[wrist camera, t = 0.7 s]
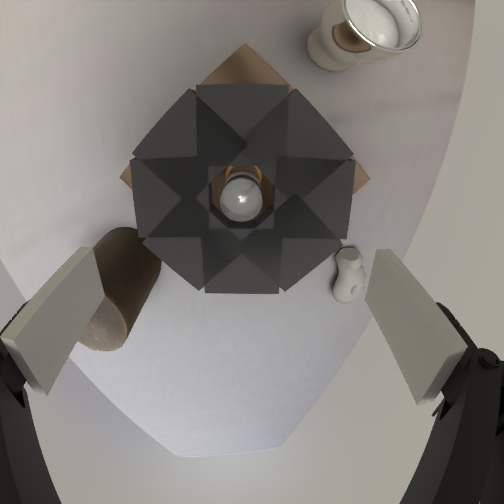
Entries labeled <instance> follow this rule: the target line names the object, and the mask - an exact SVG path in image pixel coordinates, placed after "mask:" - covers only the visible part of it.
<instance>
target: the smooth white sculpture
mask: <svg viewBox="0 0 504 504" xmlns="http://www.w3.org/2000/svg"><path fill="white" fill-rule="evenodd" d="M336 262H337V264H338V268H339V274H338V277H337V280H336V282H335V284H334V287H333V291H332V293H333V297H334V299H335V300H336V301H337V302H339V303H350V302H353V301H354V300H356V299H357V298H358V297H359V296H360V295H361V294H362V293H363V291H364V280H365V278H366V274H365V273H364V268H363V266H362V262H363V257H362V255H361V253H360V252H359V250H357V249H355V248H343V249H341V250H340V251H339V252H338V254H337V255H336Z"/></svg>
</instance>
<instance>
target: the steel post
mask: <svg viewBox="0 0 504 504" xmlns="http://www.w3.org/2000/svg"><path fill="white" fill-rule="evenodd" d="M225 178H226V182H225V185H224V188H223V191H222V194H221V197H220V206H221V209H222V211H223V212H224V214H225V215H226V216H227V217H228V218H230V219H232V220H234V221H239V222H244V221H248V220H251V219H253V218H254V217H255V216H257V214H258V213H259V212H260V210H261V208H262V194H261V186H260V183H261V180H262V173H261V171H260V170H259V169H258V168H257V167H256V166H228V168H227V170H226V174H225Z"/></svg>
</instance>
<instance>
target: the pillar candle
mask: <svg viewBox="0 0 504 504" xmlns="http://www.w3.org/2000/svg"><path fill="white" fill-rule="evenodd" d="M145 239H146V237H140V238H139V236H138V230H135V229H132V228H127V227H123V228H116V229H114V230H112V231H110V232H109V233H108V234H106V235H105V236H104V237H103V238H102V239H101V240H100V241H99V242H98V243H97V244H96V245H95V246H94V247H93V250H94V255H95V259H96V263H97V267H98V271H99V275H100V279H101V283H102V287H103V290H104V294H105V297H104V299H103V300H102V302H101V303H100V305H99V307H98V308H97V310H96V311H95V313H94V314H93V316H92V318H91V319H90V321H89V322H88V324H87V326H86V327H85V329H84V331H83V332H82V334H81V336H80V337H79V339H78V342H80V343H81V344H83V345H85V346H87V347H88V348H89V349H91V350H96V351H97V350H99V351H113V350H116V349H118V348H120V347H122V346H123V344H124V343H125V341H126V339H127V337H128V335H129V333H130V331H131V329H132V327H133V325H134V323H135V321H136V319H137V317H138V315H139V313H140V311H141V309H142V307H143V305H144V303H145V302H146V300H147V298H148V296H149V293H150V291H151V290H152V288H153V286H154V284H155V282H156V280H157V278H158V276H159V273H160V270H161V259H160V258H158V257H157V256H156V255H155V254H154V253H153V252H151V251H150V250H149V249H148V248H147V247H146V246H144V245H143V244H142V243H143V241H144V240H145Z"/></svg>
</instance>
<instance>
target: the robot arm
mask: <svg viewBox="0 0 504 504" xmlns="http://www.w3.org/2000/svg"><path fill="white" fill-rule="evenodd" d="M104 297H105V294H104V290H103V287H102V283H101V279H100V275H99V271H98V267H97V263H96V259H95V255H94V250H93V248H88V247H80V248H79V249H78V250H77V251H76V252H75V253H74V254H73V255H72V256H71V257H70V258H69V259H68V260H67V261H66V262H65V263H64V264H63V265H62V266H61V267H60V268H59V269H58V270H57V271H56V272H55V273H54V274H53V275H52V277H51V278H50V279H49V280H48V281H47V282H46V283H45V284H44V285H43V286H42V287H41V288H40V290H39V291H38V292H37V293H36V294H35V295H34V296H33V297H32V299H30V300H29V301H28V302H26V303H25V304H23V305H22V307H21V308H20V309H19V310H18V311H17V314H15V315H14V316H13V317H12V320H10V321H9V322H8V323H7V325H6V326H5V327H4V328H3V330H2V331H1V332H0V504H61V501H60V499H59V497H58V495H57V492H56V490H55V487H54V485H53V483H52V480H51V477H50V475H49V472H48V469H47V466H46V463H45V460H44V458H43V454H42V451H41V448H40V445H39V441H38V438H37V434H36V431H35V427H34V423H33V419H32V415H31V410H30V406H29V401H28V396H27V392H26V390H25V388H24V387H23V386H24V384H25V382H26V381H27V382H28V384H29V385H30V387H31V388H32V390H33V391H35V392H38V393H41V394H44V395H48V394H49V392H50V390H51V388H52V386H53V384H54V382H55V380H56V378H57V376H58V374H59V373H60V371H61V369H62V367H63V365H64V363H65V362H66V360H67V358H68V356H69V355H70V353H71V351H72V349H73V348H74V346H75V344H76V342H77V341H78V339H79V337H80V336H81V334H82V332H83V331H84V329H85V327H86V326H87V324H88V322H89V321H90V319H91V318H92V316H93V314H94V313H95V311H96V310H97V308H98V307H99V305H100V303H101V302H102V300H103V299H104ZM365 300H366V302H367V304H368V306H369V308H370V310H371V311H372V313H373V315H374V317H375V319H376V321H377V323H378V325H379V327H380V329H381V330H382V333H383V335H384V336H385V338H386V341H387V342H388V344H389V346H390V349H391V350H392V352H393V355H394V357H395V359H396V361H397V363H398V365H399V367H400V369H401V371H402V373H403V376H404V378H405V380H406V382H407V384H408V386H409V389H410V391H411V393H412V395H413V398H414V400H415V402H416V404H417V405H421V404H425V403H428V402H432V401H434V400H435V398H436V397H437V395H438V394H439V393H440V391H442V393H443V395H444V399H443V400H442V402H441V403H440V404H439V406H438V407H437V408H436V410H435V411H434V413H433V414H432V416H435V414H436V413H437V412H438V414H437V417H436V420H435V423H434V426H433V428H432V431H431V434H430V437H429V440H428V442H427V445H426V448H425V450H424V453H423V455H422V457H421V460H420V462H419V465H418V467H417V469H416V472H415V473H414V476H413V478H412V480H411V482H410V484H409V486H408V488H407V490H406V492H405V494H404V496H403V498H402V500H401V502H400V504H479V502H480V504H504V361H500V359H499V358H498V356H497V355H496V354H495V353H494V352H492V351H490V350H488V349H484V348H479V349H478V348H477V346H476V345H475V344H474V342H473V341H472V340H471V339H470V337H469V335H468V334H467V333H466V331H465V330H464V329H463V328H462V326H460V324H459V322H458V321H457V320H456V319H455V317H454V316H453V314H452V313H451V312H450V311H449V309H447V308H446V307H445V306H443V305H442V304H440V303H438V302H437V303H435V302H434V300H433V299H432V298H431V297H430V295H429V294H428V293H427V292H426V290H425V289H424V288H423V287H422V285H421V284H420V283H419V282H418V281H417V280H416V278H415V277H414V276H413V275H412V274H411V273H410V271H409V270H408V269H407V268H406V266H405V265H404V264H403V263H402V262H401V261H400V260H399V258H398V257H397V256H396V255H395V254H394V253H393V252H392V251H391V250H389V249H376V254H375V258H374V263H373V267H372V272H371V276H370V280H369V285H368V289H367V293H366V297H365Z"/></svg>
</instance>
